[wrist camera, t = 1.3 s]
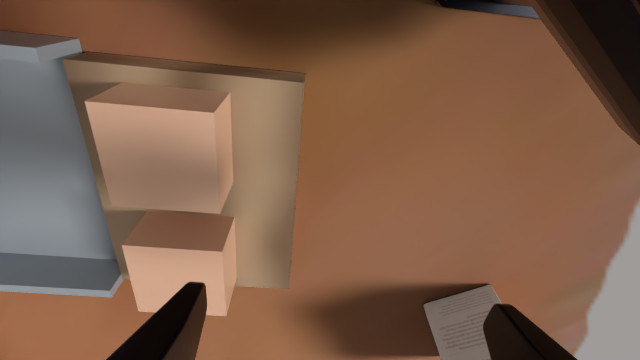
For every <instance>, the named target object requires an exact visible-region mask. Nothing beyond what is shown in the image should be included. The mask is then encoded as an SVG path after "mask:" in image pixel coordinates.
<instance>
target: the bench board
mask: <svg viewBox="0 0 640 360" xmlns="http://www.w3.org/2000/svg"><path fill="white" fill-rule="evenodd" d="M63 63H64V67H65V70H66V74H67V78H68V81H69V85H70V89H71V92H72V96H73V100H74V103H75V107H76V111H77V114H78V118H79V122H80V125H81V129H82V133H83V136H84V140H85V144H86V147H87V151H88V154H89V158H90V162H91V165H92V169H93V173H94V176H95V180H96V184H97V187H98V191H99V195H100V198H101V202H102V206H103V209H104V213H105V217H106V220H107V224H108V228H109V231H110V235H111V239H112V242H113V246H114V250H115V253H116V257H117V260H118V264H119V268H120V271H121V275H122V279H128V280H130V276H129V272H128V268H127V264H126V260H125V256H124V252H123V249H122V244H123V243H124V241H125V240H126V239H127V237H128V236H129V235H130V233H131V232H132V231H133V229H134V228H135V227H136V225H137V224H138V223H139V221H140V220H141V219H142V217H143V216H144V215H145V213H146V212H147V211H160V212H174V213H188V214H202V215H215V216H229V217H235V245H236V274H237V278H236V282H235V285H234V286H246V287H263V288H280V289H289V279H290V268H291V255H292V242H293V228H294V215H295V202H296V189H297V176H298V163H299V150H300V136H301V123H302V110H303V97H304V84H305V73H297V72H287V71H277V70H267V69H257V68H247V67H237V66H227V65H217V64H207V63H197V62H187V61H177V60H166V59H156V58H146V57H136V56H126V55H116V54H106V53H96V52H86V53H82V54H79V55H75V56H72V57H68V58H65V59H63ZM122 82H125V83H135V84H146V85H157V86H167V87H178V88H188V89H199V90H209V91H220V92H230V101H231V130H232V159H233V184H232V186H231V189H230V191H229V193H228V196H227V198H226V201H225V203H224V205H223V208H222V210H221V213H220V214H215V213H201V212H187V211H174V210H160V209H146V208H132V207H118V206H111V202H110V198H109V194H108V190H107V186H106V183H105V179H104V175H103V171H102V167H101V163H100V159H99V155H98V151H97V148H96V144H95V140H94V136H93V132H92V128H91V124H90V120H89V117H88V113H87V109H86V105H85V101H86V100H88V99H90V98H92V97H94V96H96V95H98V94H100V93H102V92H104V91H106V90H108V89H110V88H112V87H114V86H116V85H118V84H120V83H122Z"/></svg>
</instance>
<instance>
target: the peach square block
mask: <svg viewBox="0 0 640 360" xmlns="http://www.w3.org/2000/svg"><path fill="white" fill-rule="evenodd" d="M122 249H123V252H124V256H125V260H126V264H127V268H128V272H129V276H130V280H131V284H132V287H133V291H134V295H135V299H136V303H137V307H138V311H141V312H157V311H158V310H159V309H160V308H161V307H162V306H163V305H164V304H165V303H166V302H167V301H168V300H170V299H171V298H172V297H173V296H174V295H175V294H176V293H177V292H178V291H179V290H180V289H181V288H182V287H183V286H184V285H185V284H186V283H188V282H203V283H205V285H206V294H207V311H206V315H216V316H226V315H227V311H228V308H229V304H230V300H231V297H232V293H233V289H234V285H235V282H236V278H237V274H236V245H235V217H229V216H215V215H202V214H188V213H174V212H160V211H147V212H146V213H145V215H144V216H143V217H142V219H141V220H140V221H139V223H138V224H137V225H136V227H135V228H134V229H133V231H132V232H131V233H130V235H129V236H128V237H127V239H126V240H125V241H124V243H123V244H122Z"/></svg>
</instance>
